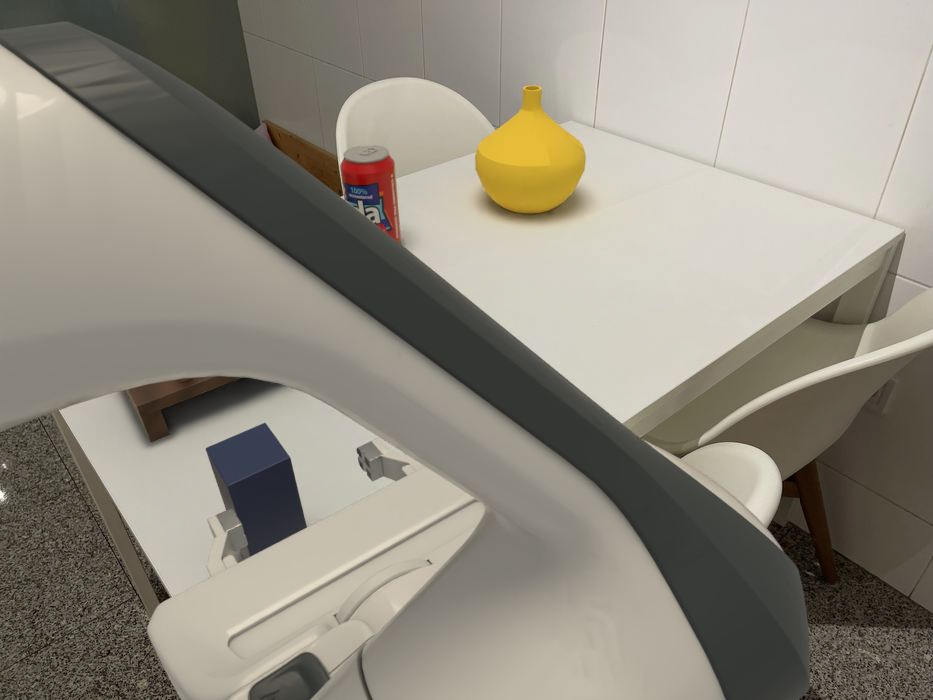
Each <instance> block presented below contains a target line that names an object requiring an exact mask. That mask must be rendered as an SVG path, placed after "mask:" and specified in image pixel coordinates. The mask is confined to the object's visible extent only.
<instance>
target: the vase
mask: <svg viewBox="0 0 933 700" xmlns="http://www.w3.org/2000/svg"><path fill="white" fill-rule="evenodd" d="M542 91H543V89H542V87H541V86H539V85H525V86H523V87H522V105H521V108H520V109H519V110H518V112H517V113H516V114H515V115H513V117H511V118H510V119H508V120H507V121H506V122H505V123H504V124H502V125H501V126H500V127H498V128H497V129H496V130H494V131H493V132H491V133H490V134H488V135H486V137H484V138H483V139H482V140H481V141H480V142H479V143H478V145H477V148H476V152H475V156H474V165H475V167H474V168H475V172H476V174H477V176H478V179H479V181H480V183H481V185H482V187H483V190H484V191H485V192H486V194H487V195H488V196H489V198H491V199H492V200H493V202H495V203H496V204H497V205H499V206H500V207H502V208H504V209H505V210H508V211H510V212H514V213H519V214H525V215H526V214H530V215H531V214H542V213H545V212H549V211H550V210H553V209H555V208H557V207H558V206H560V205H561V204H563V203H564V202H565V201H566V200H567V199H568V198H569V197H570V196H571V195H572V194H574V191H575V189H576V188H577V187H578V184H579V182H580V180H581V178H582V176H583V175H584V172H585V170H586V169H585V168H586V161H587V160H586V159H587V157H586V151H585V148H584V145H583V143H582V142H581V141H580V140H579V139H578V138H577V137H575V136H574V135H573V134H571V133H570V132H568V131H567V129H565V128H564V127H562V125H560V124H559V123H557V122H556V121H555V120H554V119H553V118H551V116H549V115H548V114H547V113H546V112H545V110H544V109H543V107H542V106H543V105H542Z"/></svg>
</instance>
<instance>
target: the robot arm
mask: <svg viewBox="0 0 933 700" xmlns="http://www.w3.org/2000/svg"><path fill="white" fill-rule="evenodd" d="M211 376H227V377H243V378H248V379H254V380H259V381H264V382H267V383H268V382H269V383H274V384H278V385H282V386H286V387H289V388H292V389H294V390H296V391H300V392H301V393H304V394H307V395H309V396H311V397H313V398H315V399H317V400H319V401H320V402H322V403H324V404H325V405H327V406H329V407H331V408H333V409H334V410H336V411H338V412H339V413H340V414H342V415H344V416H345V417H347V418H349V419H350V420H351V421H353V422H355V423H357V424H358V425H360V426H361V427H363V428H364V429H366V430H367V431H368V432H370V433H372V434H373V435H375V436H377V438H374V439H372V440H370V441H368V442H366V443H364V444H362V445H360V446H357V447H356V448H355V451H356V453H357V455H358V456H357V462H358V464H359V467H360V468H361V470H362V471H363V472H366V475H367V477H368V478H369V480H370V481H371V482H372V483H373V482H375V481H377V480H380V479H381V478H387V479H389V480H391V481H394V482H392V483H390V484H388V485H386V486H384V487H382V488H380V489H379V490H377V491H374V492H372V493H371V494H369V495H367V496H365V497H362V498H361V499H358V500H357V501H355V502H353V503H351V504H350V505H348V506H345V507H343V508H342V509H340V510H338V511H336V512H334V513H332V514H330V515H328V516H326V517H324V518H322V519H320V520H319V521H317V522H315V523H313V524H310V525H308V526H307V528H305V529H303V530H301V531H299V532H297V533H295V534H293V535H291V536H289V537H288V538H286V539H284V540H282V541H280V542H278V543H276V544H274V545H272V546H270V547H268V548H266V549H264V550H262V551H261V552H259V553H257V554H255V555H253V556H251V557H249V558H247V559H245V560H244V559H243V560H241V561H240V562H237V560H236V558H235V557H236V552H238V551H240V549H241V548H243V547H245V546H247V545H248V541H247V538H246V536H245V534H244V529H243V526H242V524H241V522H240V520H239V518H238V517H237V516H236V514H235V511H234V510H233V508H231V509H228V510H226V509H225V510H224V511H222V512H220V513H218V514H215V515H214V516H211V517H209V518H207V519H206V521H207V523H208V527H209V530H210V532H211V535H212V537H213V541H212V545H211V549H210V552H209V555H208V559H207V562H206V565H205V566H206V569H207V572H208V574H209V576H210V577H208V578H206V579H204V580H203V581H201V582H198V583H197V584H195V585H193V586H191V587H189V588H187V589H185V590H183V591H181V592H179V593H178V594H176V595H173V596H172V597H170V598H167V599H166V600H164V601H162V602H161V603H159V604H158V605H156V608H155V609H154V611H153V613H152V615H151V617H150V619H149V622H148V625H147V627H146V633H147V635H148V638H149V641H150V642H151V645H152V647H153V649H154V651H155V653H156V655H157V658H158V659H159V662H160V664H161V665H162V668H163V670H164V671H165V673H166V675H167V677H168V679H169V681H170V683H171V685H172V686H173V688H174V690H175V692H176V693H177V695H178V697H179V699H180V700H800V699H802V697H803V696H805V694H807V693H808V691H809V690H810V685H811V652H810V650H811V649H810V636H809V634H810V633H809V620H808V613H807V606H806V605H807V604H806V600H805V593H804V589H803V583H802V579H801V575H800V571H799V569H798V567H797V565H796V564H795V563H794V562H793V560H792V559H791V558H790V557H789V556H788V555H787V554H786V553H785V552H784V550H783V548H782V546H781V545H780V544H779V542H778V541H777V539H776V538H775V537H774V535H773V534H772V532H771V531H770V530H769V529H768V528H767V527H766V526H765V524H764V523H763V522H762V521H761V520H760V519H759V518H758V517H757V516H756V514H754V513H753V512H752V511H751V510H750V509H749V508H748V507H747V506H746V505H745V504H743V503H742V502H741V501H740V499H738V498H737V497H736V496H735V495H733V493H731V492H730V491H729V490H727V489H726V488H725V487H723V486H722V485H721V484H720V483H719V482H717V481H715V480H714V479H713V478H711V476H708V475H707V474H705V473H704V472H702V471H701V470H699V469H698V468H697V467H694V466H693V465H692V464H690V463H688V462H687V461H685V460H684V459H681V458H679V457H678V456H677V455H675V454H673V453H671V452H669V451H667V450H665V449H663V448H662V447H661V448H660V447H659V446H657V445H655V444H653V443H651V442H649V441H647V440H645V439H643V438H642V437H640V436H638V435H637V434H636V433H635V432H634V431H632V430H631V429H629V428H628V427H627V426H625V425H624V424H623V423H622V422H621V421H619V420H618V419H617V418H616V417H614V416H613V415H612V414H611V413H609V411H607V410H606V409H604V408H603V407H602V406H601V405H599V403H597V402H596V401H595V400H593V399H592V398H591V397H590V396H589V395H587V394H586V393H585V392H584V391H582V390H581V389H580V388H579V387H578V386H576V385H575V384H574V383H573V382H571V381H570V380H569V379H567V377H565V376H564V375H563V374H561V373H560V372H559V371H558V370H556V369H555V368H554V367H553V366H551V364H549V363H548V362H547V361H545V359H543V358H541V356H539V354H537V353H536V352H534V351H533V350H532V349H531V348H529V347H528V346H527V345H526V344H524V343H523V342H522V341H521V340H520V339H518V338H517V337H516V336H514V335H513V334H512V333H511V332H510V331H509V330H507V329H506V328H505V327H504V326H503V325H502V324H500V323H499V322H497V320H495V319H494V318H493V317H492V316H491V315H489V314H488V313H487V312H485V311H484V310H483V309H481V308H480V307H479V306H478V305H476V303H474V302H473V301H472V300H470V299H469V298H468V297H467V296H466V295H464V294H463V293H462V292H461V291H460V290H458V289H457V288H456V287H454V285H452V284H451V283H450V282H448V281H447V280H446V279H445V278H443V277H442V276H441V275H440V274H438V273H437V272H436V271H435V270H434V269H432V268H431V267H430V266H429V265H427V264H426V263H425V262H424V261H423V260H422V259H420V258H418V256H416V255H415V254H414V253H412V252H411V251H410V250H409V249H408V248H406V247H405V246H404V245H402V244H401V242H400V243H399V242H397V241H396V240H395V239H394V238H392V237H391V236H390V235H388V234H387V233H386V232H385V231H383V230H382V229H381V228H380V227H378V226H377V225H376V224H375V223H373V222H372V221H371V220H370V219H369V218H367V217H366V216H364V215H363V214H362V213H361V212H359V211H358V210H357V209H356V208H354V207H353V206H352V205H351V204H350V203H348V202H347V201H346V200H345V199H344V198H342V196H340V195H339V194H337V193H336V192H335V191H334V190H332V189H331V188H330V187H328V186H327V185H326V184H325V183H323V182H322V181H321V180H320V179H318V178H317V177H315V176H314V175H313V174H311V173H310V172H309V171H308V170H306V169H305V168H304V167H302V166H301V165H300V164H298V163H297V162H296V161H295V160H293V159H292V158H291V157H289V156H288V155H287V154H286V153H284V152H283V151H281V150H280V149H279V148H277V146H276V145H274V144H272V143H271V142H270V141H269V140H268V139H266V138H264V137H263V136H262V135H260V134H259V133H258V132H257V131H255V130H254V129H253V128H252V127H250V126H249V125H247V124H246V123H244V122H243V121H242V120H241V119H239V118H237V116H234V115H233V114H232V113H231V112H230V111H228V110H226V108H224V107H223V106H221V105H219V104H218V103H217V102H216V101H214V100H212V99H211V98H209V96H207V95H206V94H204V93H202V92H201V91H200V90H198V89H197V88H195V87H193V86H192V85H190V84H189V83H187V82H186V81H184V80H182V79H180V78H179V77H177V76H176V75H174V74H173V73H171V72H169V71H168V70H166V69H165V68H163V67H161V66H160V65H158V64H156V63H155V62H153V61H152V60H149V58H146V57H144V56H142V55H140V54H138V53H137V52H134V51H132V50H131V49H129V48H127V47H125V46H123V45H121V44H119V43H118V42H115V41H113V40H111V39H110V38H108V37H105V36H103V35H100V34H98V33H95V32H94V31H91V30H89V29H86V28H84V27H81V26H80V25H77V24H75V23H72V22H70V21H58V22H52V23H51V22H50V23H44V24H43V23H42V24H36V25H28V26H21V27H12V28H5V29H0V433H3V432H6V431H7V430H9V429H12V428H15V427H17V426H19V425H21V424H24V423H27V422H30V421H33V420H36V419H39V418H41V417H45V416H47V415H50V414H52V413H55V412H58V411H61V410H64V409H67V408H69V407H72V406H76V405H78V404H81V403H84V402H88V401H92V400H94V399H97V398H102V397H105V396H107V395H111V394H114V393H115V394H116V393H119V392H123V391H125V390H127V389H131V388H135V387H139V386H143V385H147V384H152V383H158V382H164V381H170V380H177V379H183V378H196V377H211ZM381 440H383V441H384V442H386V443H388V444H389V445H390V446H392V447H394V448H395V449H397V450H399V451H395V450H390V449H389V448H388V447H387V446H386V445H385V444H384V443H383V442H382V441H381Z"/></svg>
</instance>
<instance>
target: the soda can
mask: <svg viewBox="0 0 933 700" xmlns="http://www.w3.org/2000/svg"><path fill="white" fill-rule="evenodd" d="M395 163H396V162H395V160H394V158H393V157H392V156H391V155H390V151H389V149H388V148H386V147H385V146H383V145H377V144H363V145H357V146H353V147H350V148H348V149H346V150H345V151H344V152H343V159H342V161H341V162H340V164H339V165H340V176H341V183H342V188H343V189H342V190H343V191H342V192H343V197H344V198H343V199H344V200H346V201H347V202H348V203H350V204H351V205H352V206H353V207H354V208H356V209H357V210H358V211H359V212H361V213H362V214H363V215H364V216H366V217H367V218H369V219H370V220H371V221H372V222H373V223H375V224H376V225H377V226H378V227H380V228H381V229H382V230H383V231H385V232H386V233H387V234H388V235H390V236H391V237H392V238H394V239H395V240H396V241H397V242H399V243H400V244H401V241H402V232H401V231H402V230H401V222H400V221H401V220H400V219H401V218H400V208H399V197H398V187H397V186H398V184H397V174H396V164H395Z"/></svg>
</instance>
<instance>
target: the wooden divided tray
mask: <svg viewBox="0 0 933 700" xmlns="http://www.w3.org/2000/svg"><path fill="white" fill-rule="evenodd" d="M242 378H244V377H227V376H211V377H196V378H183V379H177V380H170V381H164V382H158V383H152V384H147V385H143V386H139V387H135V388H131V389H127V390H124V392H125V393H126V395H127V397H128V399H129V402H130V404H131V405H132V407H133V409H134V411H135V413H136V415H137V417H138V419H139V421H140V423H141V425H142V428H143V430H144V432H145V433H146V435H147V437H148V440H149V442H154V441H157V440H158V439H162V438H165V437H166V436H169V435H170V431H169V428H168V426H167V423H166V421H165V418H164V416H163V413H162V410H164V409H166V408H169V407H171V406H174V405H176V404H179V403H182V402H184V401H187V400H189V399H191V398H194V397H197V396H200V395H202V394H205V393H207V392H209V391H212V390H214V389H217V388H220V387H222V386H225V385H228V384H230V383H233V382H235V381H237V380H240V379H242Z"/></svg>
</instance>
